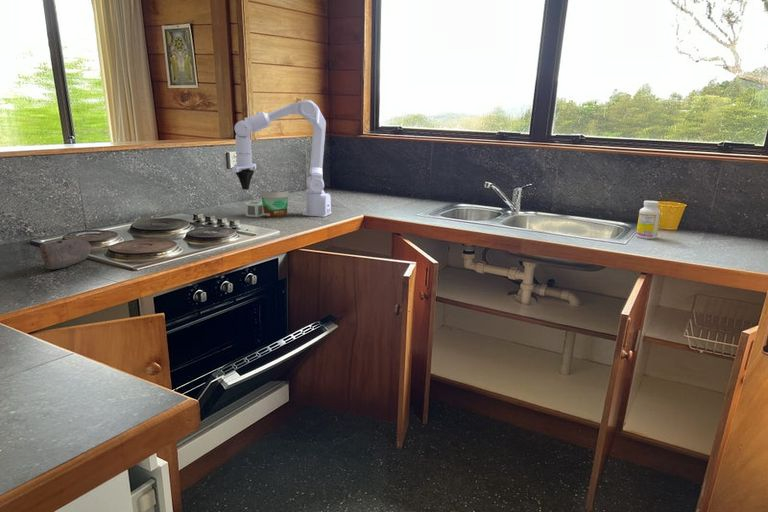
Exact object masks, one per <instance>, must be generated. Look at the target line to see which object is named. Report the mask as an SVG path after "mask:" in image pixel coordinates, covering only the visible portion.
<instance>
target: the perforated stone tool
mask: <svg viewBox="0 0 768 512" xmlns="http://www.w3.org/2000/svg"><path fill="white" fill-rule="evenodd" d="M39 249H40V257H41V261H43V262H44V267H45V269H48V270H51V271H53V270H59V269H64V268H67V267H70V266H74V265H76V264H79V263H81V262H84V261H85V260H86V259H87V258H88V257H89V256H90V254H91V252H92V251H91V250H92V246H91V244H90V242H89V241H87V240H85V239H82V238H70V239H68V238H67V239H66V238H65V239H61V240H57V241H53V242H47V243H43V244H40V245H39Z"/></svg>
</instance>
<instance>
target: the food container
mask: <svg viewBox="0 0 768 512" xmlns="http://www.w3.org/2000/svg"><path fill="white" fill-rule="evenodd" d="M290 196H291V195H290V191H289V189H285V191H271V192H269V191H268V192H267V191H260V196H259V197H260V198H261V202H262V203H263V211H264V215H263V217H264V218H268V219H278V218H279V219H280V218H286V217H287V216H288V204H289V197H290Z"/></svg>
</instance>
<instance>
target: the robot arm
mask: <svg viewBox="0 0 768 512" xmlns="http://www.w3.org/2000/svg"><path fill="white" fill-rule="evenodd" d="M289 115H297V116H299V115H300V116H301V117H302V118H305V119H306V120H308V122H309V123H310V124H311V125H312V127H313V129H312V138H311V151H310V152H311V153H310V154H311V155H310V167H309V171H308V172H309V174H308V176H307V177H306V182H305V184H306V186H307V187H308V189H307V190H305V203H306V204H305V206H306V207H305V209H306V210H305V211H306V212H304V213H302V216H307V217H309V216H310V217H322V218H325V217H327V216H329V215H331V214H332V197H331V194H330V193H327V192H325V190H324V188H325V182H324V178H323V177H324V176H323V166H324V165H323V164H324V152H325V151H324V150H325V141H326V140H325V139H326V127H327V122H326V119H325V117H324V115H323V114H322V112H321V110H320V108H319V106H318V105H317V104H316V103H315V102H314V101H312V100H310V99H304V100H301V101H296V102H292V103H288V104H287V105H284V106H282V107H280V108H278V109H276V110H273V111H271V112H269V113H266V112H264V111H261V112H260V111H257V112H256V113H255V114H253V115H250V116H249V117H244V118H243V120H239V121H237V122H235V125H234V131H235V132H234V133H235V156H236V158H235V159H236V164H234V165H233V166H231V170H232V171H231V172H232V173H235V174H236V176H237V178H238V180H239V183H240V186H241V189H242V190H244V191H245V190H246V191H247V190H248V191H249V189H250V185H251V180H252V178H253V175H254V173H255V170H256V169H257V163H253V154H252V153H253V152H252V141H251V133H257V132H259V131H261V130H263V129H266V128H269V127H270V126H271V125H270V124H271V123H272V122H273V121H275V120H278V119H282V118H285V117H287V116H289Z"/></svg>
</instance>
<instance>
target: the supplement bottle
mask: <svg viewBox="0 0 768 512" xmlns="http://www.w3.org/2000/svg"><path fill="white" fill-rule="evenodd" d="M659 205H660V202H659V201H657V200H644V201H643V207H642V208H640V209H639V211H638V219H637V226H636V232H635V236H636V237H637V238H640V239H645V240H654V239H656V238H657V237H658V231H659V224H660V218H661V210H660V209H659V208H658V207H659Z"/></svg>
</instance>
